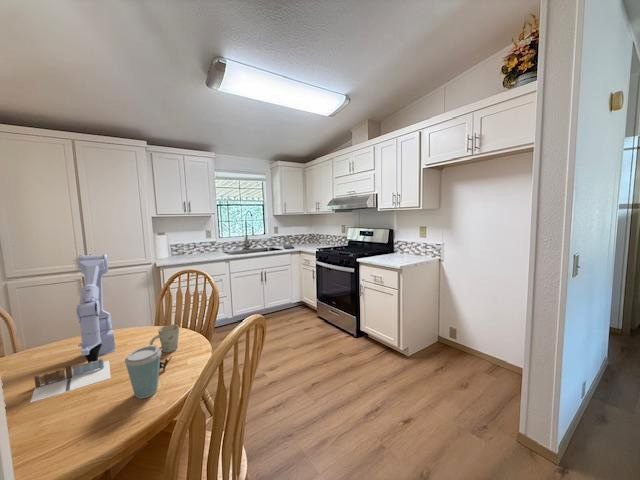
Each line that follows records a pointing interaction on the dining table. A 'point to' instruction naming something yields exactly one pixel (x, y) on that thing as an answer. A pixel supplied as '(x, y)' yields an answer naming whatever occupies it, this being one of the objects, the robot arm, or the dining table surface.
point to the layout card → (71, 382)
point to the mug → (168, 338)
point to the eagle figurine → (164, 363)
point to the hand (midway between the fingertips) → (93, 364)
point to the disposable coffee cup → (144, 370)
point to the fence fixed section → (53, 377)
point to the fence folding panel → (88, 367)
